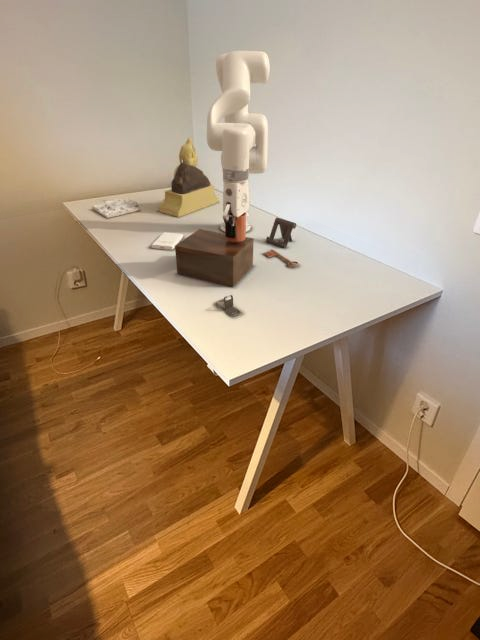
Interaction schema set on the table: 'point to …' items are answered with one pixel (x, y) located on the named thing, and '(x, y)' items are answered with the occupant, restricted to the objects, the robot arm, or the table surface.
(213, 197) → the gold-headed buddha statuette
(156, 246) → the hard drive
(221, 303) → the strap clip
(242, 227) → the cup
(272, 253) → the key
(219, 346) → the table surface
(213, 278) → the dark wooden box
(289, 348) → the table surface
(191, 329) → the table surface
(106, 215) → the floor plan model
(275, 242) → the tablet stand
